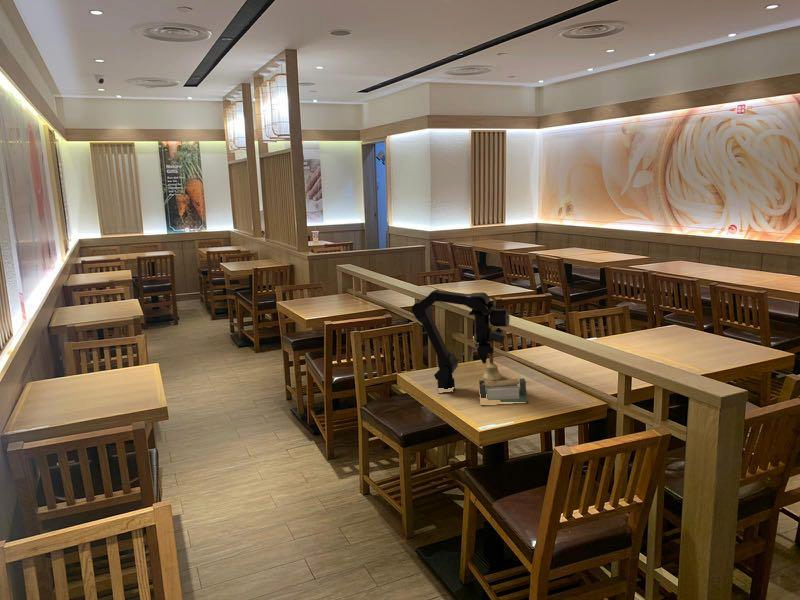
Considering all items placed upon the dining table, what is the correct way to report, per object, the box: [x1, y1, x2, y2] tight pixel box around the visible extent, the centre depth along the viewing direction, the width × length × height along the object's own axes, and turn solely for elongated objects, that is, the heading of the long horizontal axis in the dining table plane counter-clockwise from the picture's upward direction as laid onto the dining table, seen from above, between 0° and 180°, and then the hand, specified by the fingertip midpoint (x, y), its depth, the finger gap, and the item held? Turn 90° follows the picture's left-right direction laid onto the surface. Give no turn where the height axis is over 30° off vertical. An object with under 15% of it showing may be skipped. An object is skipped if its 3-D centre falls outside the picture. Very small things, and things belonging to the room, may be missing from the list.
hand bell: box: [482, 341, 503, 381], centre depth 251 cm, size 8×8×16 cm
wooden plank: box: [482, 378, 520, 388], centre depth 232 cm, size 14×3×1 cm, turn 86°
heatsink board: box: [478, 377, 529, 403], centre depth 232 cm, size 18×14×6 cm
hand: (484, 363), depth 234 cm, fingers closed
